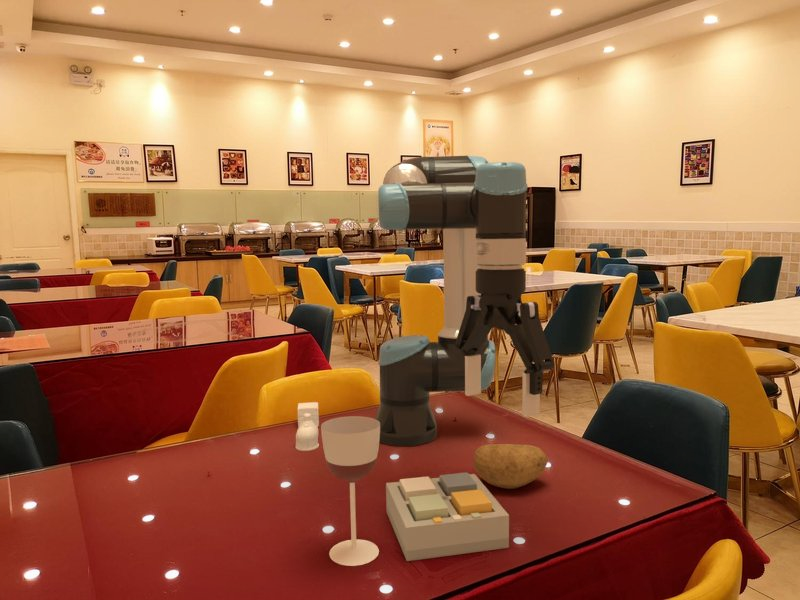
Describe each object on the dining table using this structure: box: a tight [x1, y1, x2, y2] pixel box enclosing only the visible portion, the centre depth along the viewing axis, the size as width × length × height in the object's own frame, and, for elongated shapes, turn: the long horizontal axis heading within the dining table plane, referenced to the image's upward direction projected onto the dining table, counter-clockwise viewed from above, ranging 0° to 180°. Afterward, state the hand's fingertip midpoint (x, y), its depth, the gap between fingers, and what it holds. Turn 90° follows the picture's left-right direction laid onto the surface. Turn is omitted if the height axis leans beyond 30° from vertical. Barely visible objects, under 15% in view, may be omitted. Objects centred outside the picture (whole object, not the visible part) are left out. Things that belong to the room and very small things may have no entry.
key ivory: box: [399, 475, 436, 501], centre depth 100 cm, size 5×5×3 cm
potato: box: [473, 443, 549, 490], centre depth 114 cm, size 10×14×8 cm
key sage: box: [409, 494, 448, 521], centre depth 93 cm, size 5×5×3 cm
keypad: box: [385, 473, 510, 562], centre depth 98 cm, size 16×16×6 cm
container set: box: [294, 401, 320, 452], centre depth 143 cm, size 20×5×6 cm, turn 7°
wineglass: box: [320, 415, 380, 567], centre depth 90 cm, size 8×9×20 cm
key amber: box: [451, 489, 492, 516], centre depth 95 cm, size 5×5×3 cm
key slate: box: [438, 471, 477, 496], centre depth 101 cm, size 5×5×3 cm
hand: (500, 404), depth 93 cm, fingers open, 13 cm apart
